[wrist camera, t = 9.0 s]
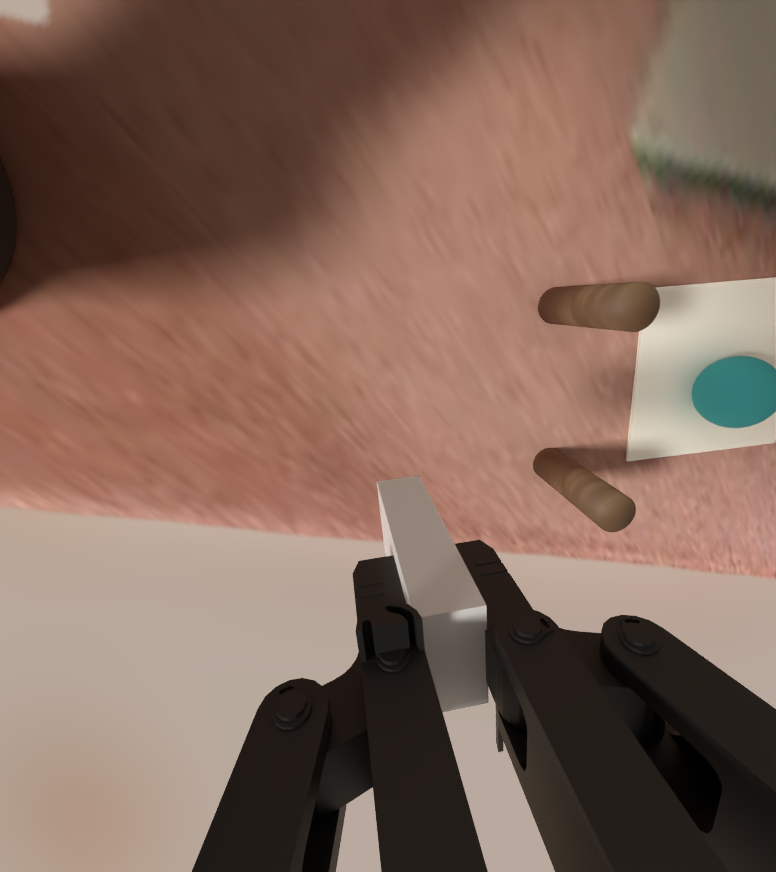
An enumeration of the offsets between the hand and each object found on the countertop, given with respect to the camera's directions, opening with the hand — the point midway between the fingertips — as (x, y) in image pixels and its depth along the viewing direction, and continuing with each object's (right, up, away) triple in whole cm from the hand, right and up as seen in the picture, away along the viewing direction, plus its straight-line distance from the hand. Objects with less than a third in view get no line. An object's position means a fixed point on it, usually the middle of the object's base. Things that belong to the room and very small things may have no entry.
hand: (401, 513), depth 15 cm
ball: (+26, +6, +17) cm, 32 cm away
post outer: (+13, +1, +20) cm, 24 cm away
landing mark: (+26, +8, +20) cm, 34 cm away
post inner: (+12, +12, +16) cm, 24 cm away
